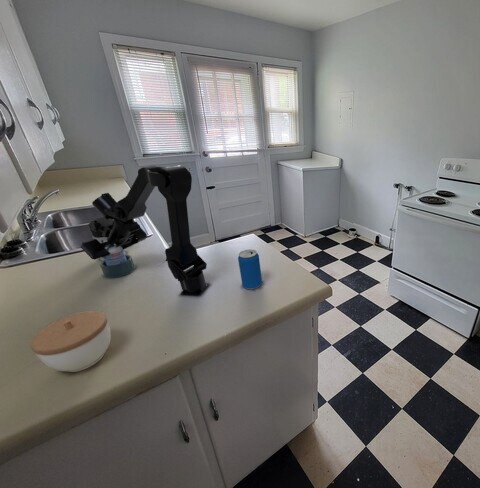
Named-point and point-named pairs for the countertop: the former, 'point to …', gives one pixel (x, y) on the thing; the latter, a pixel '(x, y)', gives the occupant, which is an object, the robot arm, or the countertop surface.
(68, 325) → the lidded bowl
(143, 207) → the robot arm
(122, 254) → the pill bottle
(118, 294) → the countertop surface
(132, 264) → the bottle holder
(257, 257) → the beverage can
